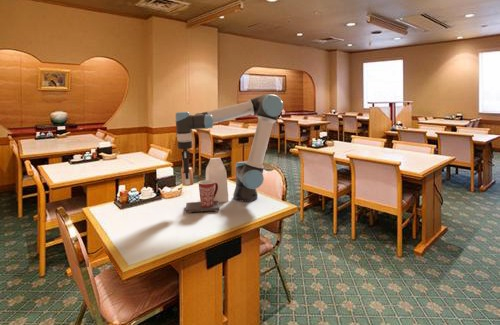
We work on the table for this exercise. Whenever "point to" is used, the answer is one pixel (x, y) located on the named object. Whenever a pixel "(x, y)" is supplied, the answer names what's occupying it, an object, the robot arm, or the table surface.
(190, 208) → the board
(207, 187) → the mug
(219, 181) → the milk
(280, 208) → the table surface
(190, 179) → the brown short cylinder
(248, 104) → the robot arm
